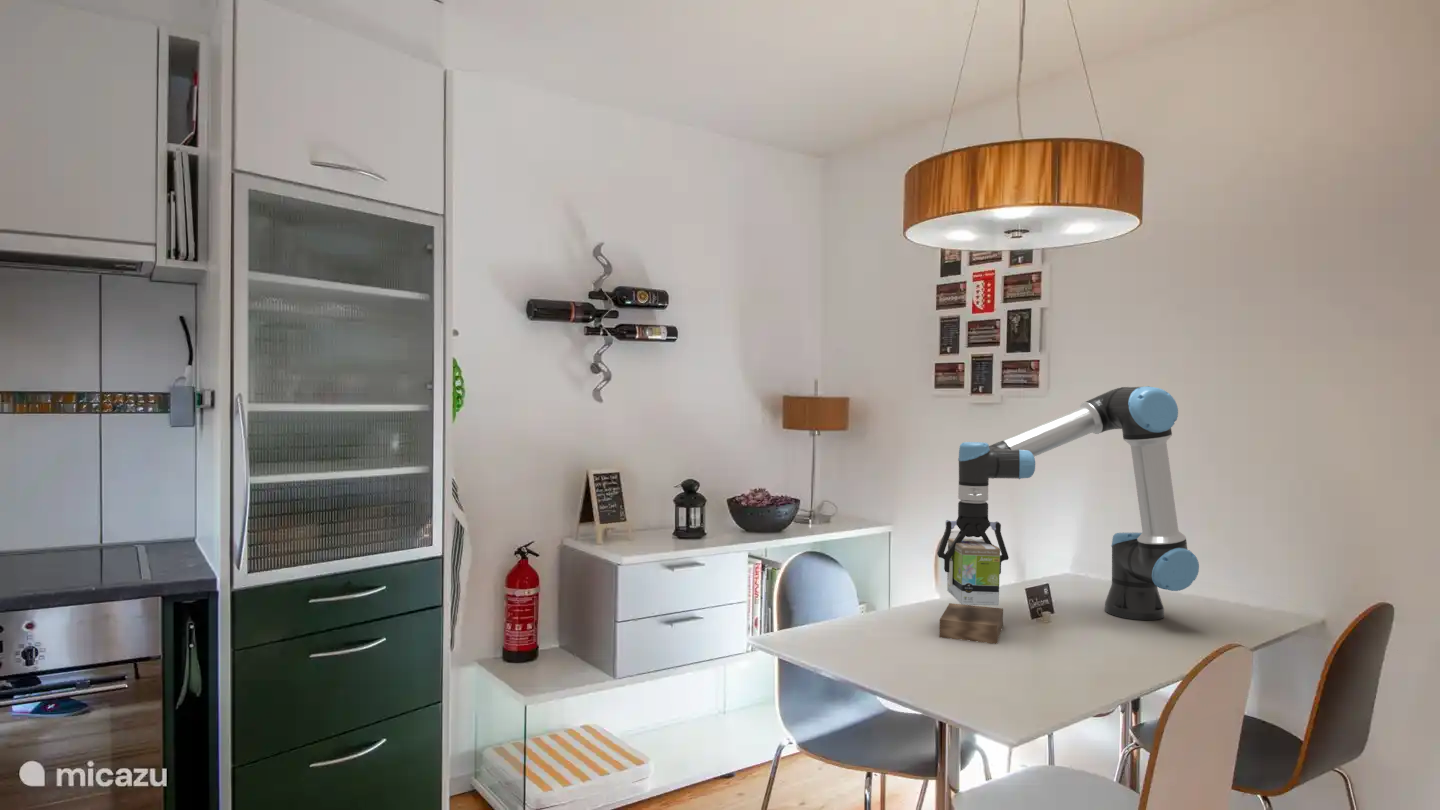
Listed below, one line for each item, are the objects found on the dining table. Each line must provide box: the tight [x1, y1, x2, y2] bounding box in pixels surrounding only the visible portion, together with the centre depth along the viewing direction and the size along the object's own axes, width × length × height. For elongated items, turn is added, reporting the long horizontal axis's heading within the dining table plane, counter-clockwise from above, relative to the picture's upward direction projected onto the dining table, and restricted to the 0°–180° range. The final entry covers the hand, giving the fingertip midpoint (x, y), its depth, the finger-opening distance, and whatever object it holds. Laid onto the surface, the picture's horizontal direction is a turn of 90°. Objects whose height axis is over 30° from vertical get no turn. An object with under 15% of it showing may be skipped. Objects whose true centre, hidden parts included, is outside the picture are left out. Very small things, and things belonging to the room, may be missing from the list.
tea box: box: [946, 537, 1001, 606], centre depth 218 cm, size 15×10×15 cm, turn 178°
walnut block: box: [938, 602, 1004, 645], centre depth 218 cm, size 14×18×5 cm
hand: (972, 585), depth 218 cm, fingers closed on tea box, 10 cm apart
